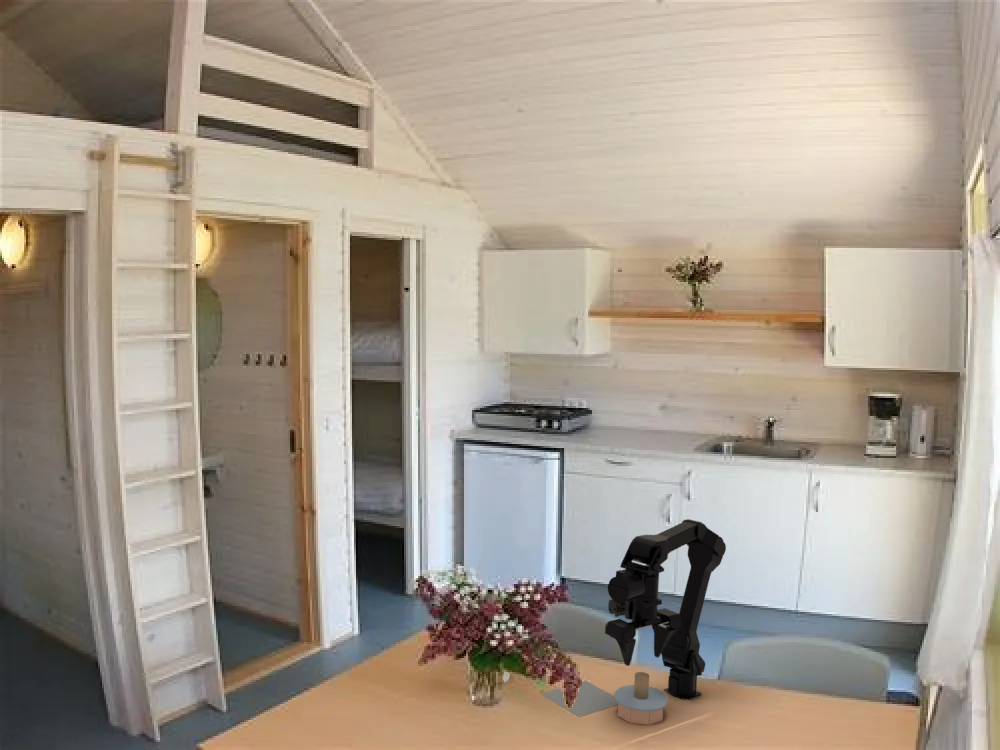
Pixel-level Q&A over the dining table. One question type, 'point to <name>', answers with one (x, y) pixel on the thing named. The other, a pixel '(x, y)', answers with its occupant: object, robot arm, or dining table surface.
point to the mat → (584, 699)
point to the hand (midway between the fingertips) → (642, 661)
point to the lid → (641, 695)
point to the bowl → (640, 715)
